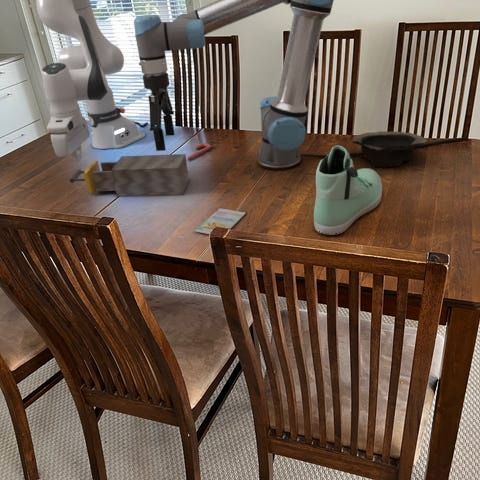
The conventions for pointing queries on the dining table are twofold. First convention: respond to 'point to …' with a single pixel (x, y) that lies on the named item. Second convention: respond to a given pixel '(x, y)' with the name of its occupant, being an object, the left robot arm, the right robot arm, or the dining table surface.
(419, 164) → the dining table surface
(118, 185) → the grey zigzag patterned box
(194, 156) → the candy cane
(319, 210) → the sneaker
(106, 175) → the drawer
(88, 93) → the left robot arm
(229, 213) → the baking ingredient package
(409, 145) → the stone bowl
